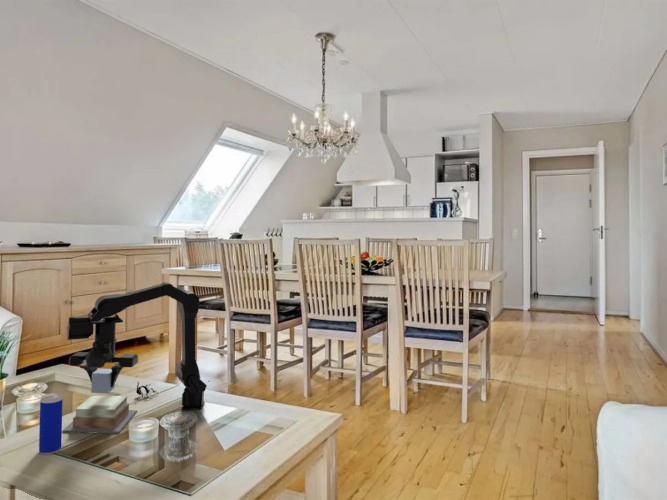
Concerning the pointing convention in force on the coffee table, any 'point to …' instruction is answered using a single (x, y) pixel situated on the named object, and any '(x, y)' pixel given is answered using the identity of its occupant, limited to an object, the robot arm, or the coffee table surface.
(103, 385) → the top block
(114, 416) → the plinth
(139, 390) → the creature
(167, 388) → the coffee table surface
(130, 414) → the grey square plate
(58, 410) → the beverage can
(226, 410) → the coffee table surface
